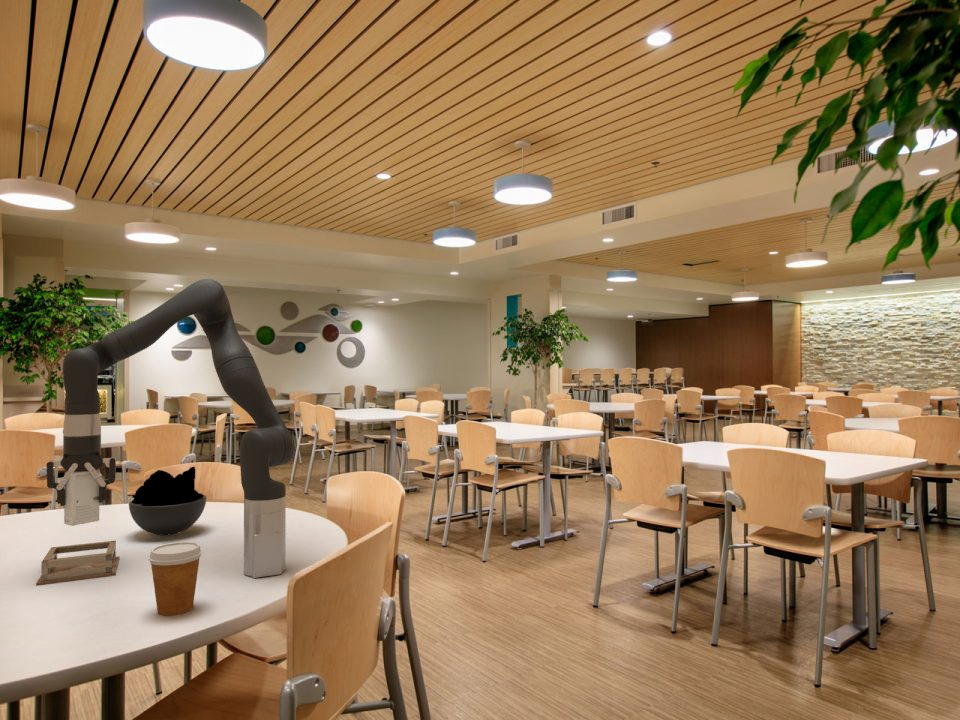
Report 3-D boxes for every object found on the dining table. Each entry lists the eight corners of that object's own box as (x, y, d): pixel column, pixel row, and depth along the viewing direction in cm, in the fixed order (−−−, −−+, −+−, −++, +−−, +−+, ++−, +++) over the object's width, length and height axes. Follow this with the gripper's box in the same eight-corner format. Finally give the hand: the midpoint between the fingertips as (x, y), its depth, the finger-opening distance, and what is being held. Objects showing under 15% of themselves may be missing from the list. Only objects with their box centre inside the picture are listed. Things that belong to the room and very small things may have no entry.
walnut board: (115, 575, 145) (115, 573, 145) (36, 585, 138) (36, 583, 138) (119, 558, 158) (119, 556, 158) (47, 566, 151) (47, 564, 151)
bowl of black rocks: (121, 546, 169) (121, 475, 169) (136, 529, 188) (136, 465, 188) (202, 540, 175) (203, 472, 175) (209, 523, 194) (209, 462, 194)
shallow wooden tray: (111, 572, 145) (111, 554, 145) (41, 581, 139) (41, 562, 139) (115, 557, 157) (115, 540, 157) (51, 564, 151) (51, 547, 151)
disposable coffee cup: (209, 600, 128) (209, 541, 129) (189, 618, 119) (190, 554, 119) (162, 601, 128) (162, 541, 128) (138, 619, 119) (138, 555, 119)
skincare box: (73, 526, 145) (73, 473, 145) (62, 524, 147) (63, 471, 147) (100, 520, 150) (101, 469, 150) (90, 518, 152) (90, 468, 152)
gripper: (118, 430, 155) (118, 498, 155) (48, 433, 149) (48, 503, 149) (116, 433, 149) (116, 503, 148) (42, 436, 142) (42, 510, 142)
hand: (81, 503), depth 148 cm, fingers closed on skincare box, 7 cm apart
